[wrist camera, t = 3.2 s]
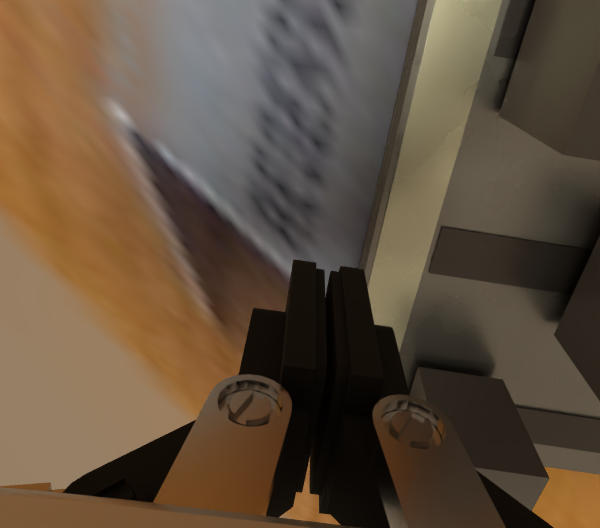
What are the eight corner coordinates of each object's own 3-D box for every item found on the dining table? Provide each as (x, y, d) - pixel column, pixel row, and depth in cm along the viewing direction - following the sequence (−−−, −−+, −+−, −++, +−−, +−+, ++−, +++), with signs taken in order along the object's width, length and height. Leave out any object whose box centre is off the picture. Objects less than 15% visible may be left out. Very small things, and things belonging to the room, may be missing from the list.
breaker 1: (503, 379, 17) (549, 478, 14) (465, 466, 19) (497, 572, 16) (418, 366, 17) (441, 462, 13) (389, 455, 19) (403, 559, 15)
